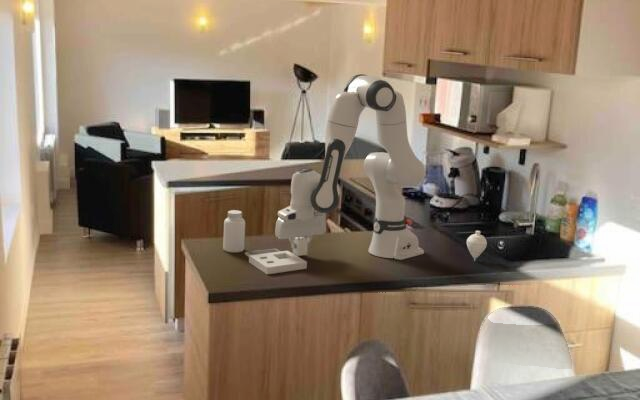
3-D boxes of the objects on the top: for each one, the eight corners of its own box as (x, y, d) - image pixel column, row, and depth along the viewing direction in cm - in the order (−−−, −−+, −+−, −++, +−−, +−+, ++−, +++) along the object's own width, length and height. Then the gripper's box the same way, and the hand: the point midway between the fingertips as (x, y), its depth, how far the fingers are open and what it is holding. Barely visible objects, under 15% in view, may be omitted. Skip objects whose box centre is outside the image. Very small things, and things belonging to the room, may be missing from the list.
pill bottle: (229, 254, 252) (230, 215, 248) (219, 248, 258) (220, 210, 255) (248, 251, 256) (249, 213, 253) (237, 245, 263) (238, 208, 259)
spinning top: (474, 265, 257) (478, 234, 255) (460, 259, 263) (463, 229, 261) (488, 262, 261) (492, 232, 259) (474, 256, 268) (477, 227, 265)
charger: (302, 251, 257) (302, 233, 255) (307, 254, 254) (308, 236, 252) (292, 252, 255) (293, 234, 253) (297, 255, 252) (298, 237, 250)
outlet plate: (287, 256, 253) (287, 249, 252) (306, 268, 241) (307, 261, 241) (248, 262, 244) (249, 254, 244) (266, 274, 233) (267, 266, 232)
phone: (275, 251, 260) (275, 248, 259) (284, 257, 254) (284, 253, 254) (244, 255, 253) (244, 251, 252) (253, 261, 247) (253, 257, 247)
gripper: (321, 207, 258) (320, 241, 261) (273, 212, 248) (272, 248, 251) (330, 211, 253) (328, 246, 256) (281, 216, 243) (280, 253, 246)
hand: (300, 247), depth 254 cm, fingers closed on charger, 4 cm apart
